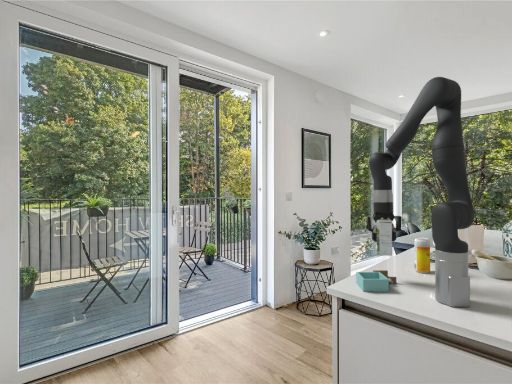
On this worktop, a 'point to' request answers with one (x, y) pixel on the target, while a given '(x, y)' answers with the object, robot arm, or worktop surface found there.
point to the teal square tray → (372, 282)
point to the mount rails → (386, 275)
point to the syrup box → (384, 237)
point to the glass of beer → (422, 255)
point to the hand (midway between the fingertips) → (384, 241)
